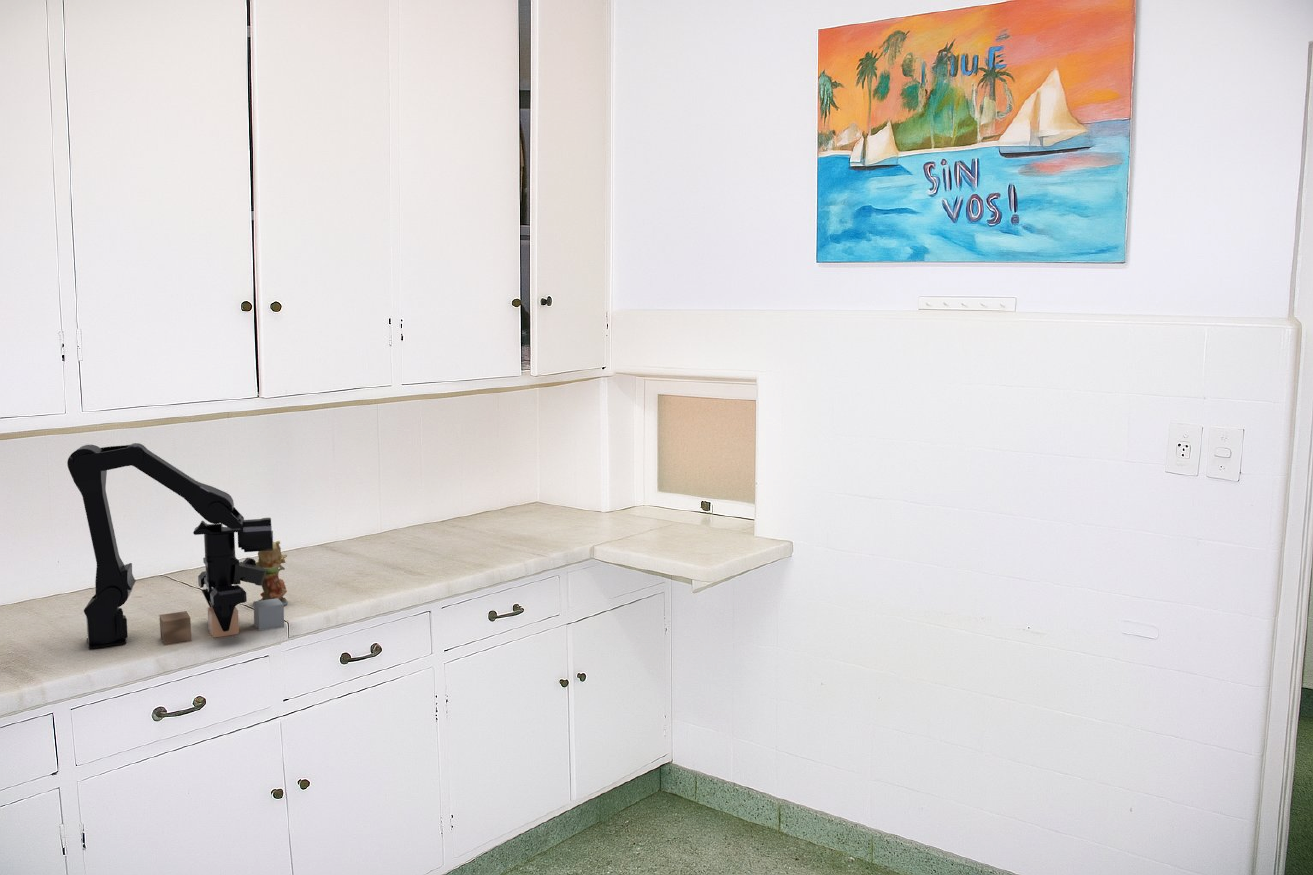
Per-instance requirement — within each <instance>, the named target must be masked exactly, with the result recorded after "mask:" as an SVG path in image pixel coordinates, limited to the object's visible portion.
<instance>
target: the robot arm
mask: <svg viewBox="0 0 1313 875" xmlns="http://www.w3.org/2000/svg"><path fill="white" fill-rule="evenodd" d="M66 463H67V469H68V471H69V473H70V476H71V478H72V481H73V483H74V485H75V487H76V488H77V489H78V490H79V492H80V494H81V496H82V501H83V504H84V510H85V514H86V520H87V523H88V529H89V533H90V538H91V543H92V547H93V553H94V558H95V561H96V562H95V563H96V568H95V569H96V571H95V580H94V581H95V587H94V588H95V594H94V595H93V596H91V598H90V600H89V602H88V603H87V604H86V606H85V608H84V609H83V613H84V615H85V618H86V631H87V638H86V643H87V647H88V649H89V650H93V649H101V648H106V647H107V648H108V647H113V646H119V645H120V646H121V645H126V644H127V640H126V639H128V637H129V635H128V621H127V620H128V618H127V616H126V615H124V611H123V609H122V608H121V607H122V606H123V605H125V603H126V602H127V601H128V598H129V597H130V596H131V593H132V591H133V588H134V585H135V583H136V582H137V580H136V579H135V577H134V574H133V563H131V562H130V563H127V564H124V561H123V560H122V559H121V557H120V553H119V549H118V543H117V539H116V534H115V529H114V525H113V524H114V523H113V520H112V514H111V510H110V506H109V500H108V496H107V492H106V489H107V488H106V487H107V486H106V484H107V474H108V473H107V472H108V471H109V470H110V471H111V470H115V469H119V468H123V467H131V466H132V467H134V468H136V469H137V470H139V471H140V472H142V473H144V475H147V476H149V477H150V478H151V479H153V480H154V481H156V482H158V483H159V484H161V485H163V486H164V487H166V488H167V489H169V491H172V492H173V493H175V494H177V495H178V496H179V497H181V498H183V499H184V500H185V501H186V502H187V503H188V504H189V506H191V507H192V508H193V509H194V511H195V512H196V513H197V514H199V515H200V516H201V517H202V518H203V519H204V520H201V521H200V523H199V524H198V525H197V526H196V527H195V528H194V530H193V532H192V534H193V535H194V536H197V535H198V536H199V535H203V539H204V540H203V543H204V557H203V558H202V559H203V563H204V565H205V570H204V571H201V573H199V574H198V577H197V582H198V583H197V584H198V586H199V587H200V588H204V587H205V588H204V589H201V593H202V595H203V597H204V599H205V600H206V602H207V604H208V606H209V607H212V609H213V611H214V613H215V615H216V617H217V619H218V622H219V624H220V626H221V628H222V630H223V631H224V632H225V631H229V628H230V624H231V619H232V615H233V611H234V608H235V607H236V606H238V605H239V604H244V603H247V600H248V599H247V591H245V589H244V588H243V587H241V586H240V585H241V584H242V582H244V583H245V582H246V583H250V584H254V585H255V586H260V587H262V586H261V585H262V582H263V579H264V576H265V573H266V570H265V569H264V568H263V567H260V566H259V565H258V566H256V562H257V561H256V560H255V559H254V558H252V557H246V558H245V559H244V560H243V561H240V560H239V559H238V558H237V557H236V540H235V539H236V538H235V533H237V546H238V548H239V549H240V550H243V552H244V553H254V552H258V551H272V550H273V542H274V531H273V529H272V527H273V526H272V518H271V517H262V518H256V519H255V518H253V519H245V517H244V516H243V515H242V514H241V513H240V512H239V510H238V509H237V508H236V507H235V503H234V499H233V497H232V495H230V494H229V493H228V492H225V491H224V490H221V489H219V488H217V487H214V486H212V485H208V484H205V483H202V482H199V481H198V480H196V479H194V478H193V477H191V476H190V475H187V473H185V472H183V471H182V470H180V469H178V468H177V467H176V466H174V465H173V464H172V463H171V464H170V463H169V462H168V461H167V460H165V459H163V458H161V457H160V456H158V455H157V454H155V453H154V452H152V451H151V450H149V449H148V448H147V447H146V446H145V445H144V444H141V443H136V442H135V443H131V444H126V445H125V444H124V445H113V446H111V445H110V446H102V447H99V446H98V445H94V444H85V445H82V446H80V447H79V448H77V449H76V450H74V451H73V452H72V453H71V454H70V455H69V457H68V458H67V462H66ZM205 521H206V522H205ZM207 522H208V523H207ZM241 581H242V582H241Z"/></svg>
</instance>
